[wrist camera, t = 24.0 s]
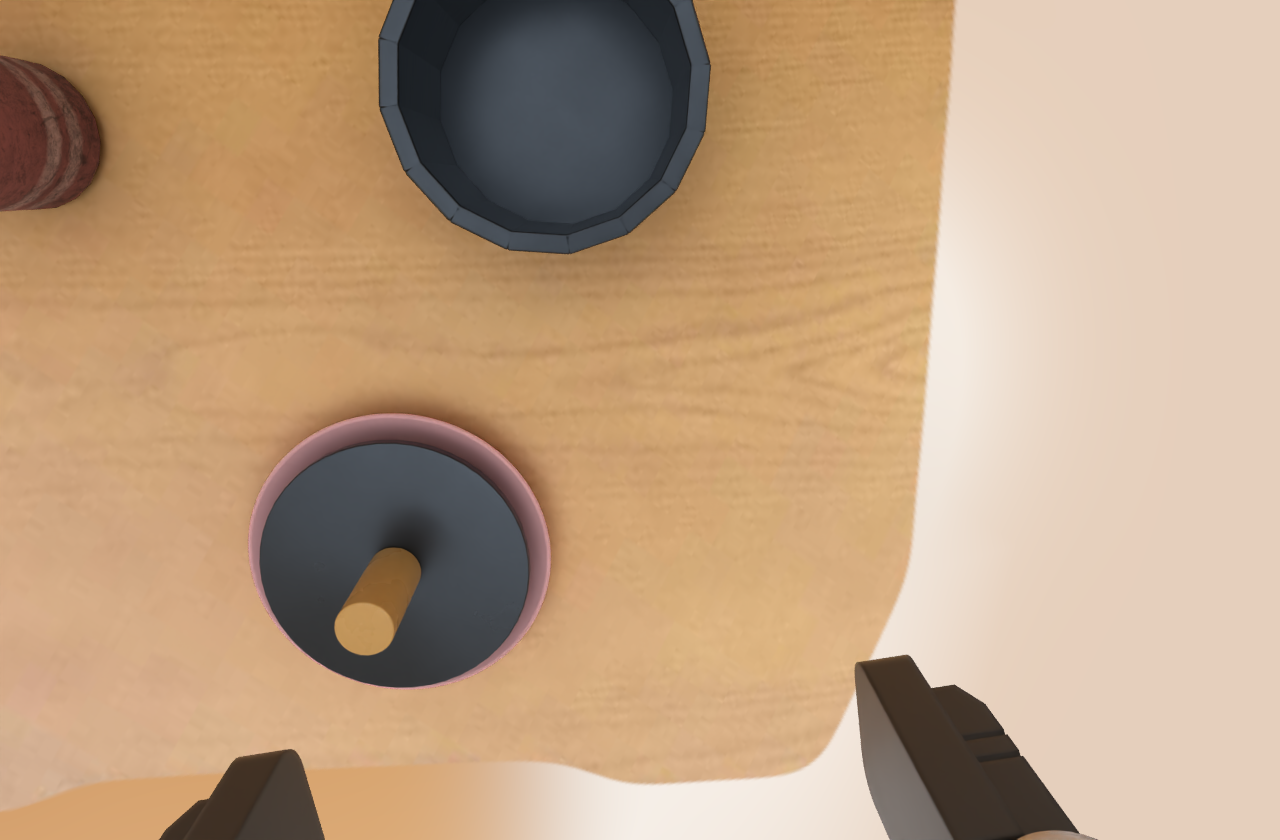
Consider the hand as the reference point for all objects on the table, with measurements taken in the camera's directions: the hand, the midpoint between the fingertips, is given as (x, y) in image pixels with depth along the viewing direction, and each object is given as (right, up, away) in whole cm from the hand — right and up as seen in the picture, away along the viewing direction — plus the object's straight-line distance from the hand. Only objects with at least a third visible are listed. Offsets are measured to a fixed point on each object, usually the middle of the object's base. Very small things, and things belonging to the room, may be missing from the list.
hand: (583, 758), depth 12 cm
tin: (-3, +19, +26) cm, 32 cm away
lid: (-11, -2, +29) cm, 31 cm away
